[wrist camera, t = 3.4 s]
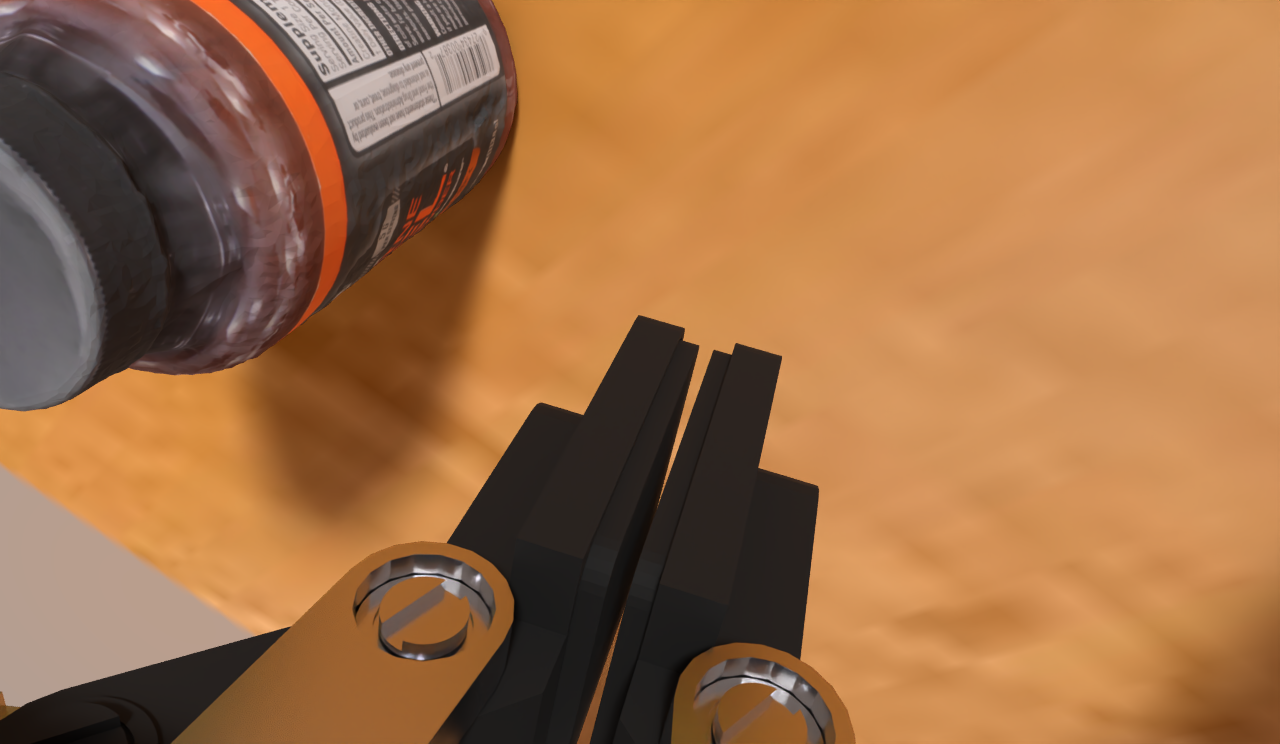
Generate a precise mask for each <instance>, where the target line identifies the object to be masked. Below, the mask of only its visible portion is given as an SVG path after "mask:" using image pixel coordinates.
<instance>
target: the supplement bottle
mask: <svg viewBox="0 0 1280 744" xmlns="http://www.w3.org/2000/svg"><path fill="white" fill-rule="evenodd" d="M516 104H517V79H516V69H515V64H514V59H513V56H512V52H511V48H510V44H509V40H508V36H507V33H506V29H505V27H504V25H503V23H502V21H501V19H500V16H499V14H498V12H497V10H496V8H495V6H494V4H493V2H492V0H0V408H1V409H8V410H17V411H29V410H36V409H47V408H49V407H53V406H56V405H59V404H62V403H64V402H66V401H68V400H71V399H73V398H74V397H76V396H78V395H79V394H81V393H82V392H84V391H86V390H87V389H89V388H91V387H92V386H94V385H95V384H97V383H98V382H100V381H102V380H104V379H106V378H108V377H109V376H111V375H113V374H115V373H119V372H121V371H123V370H125V369H127V368H131V369H134V370H140V371H149V372H153V373H163V374H170V375H181V374H188V375H194V374H202V373H212V372H215V371H220V370H224V369H227V368H232V367H234V366H236V365H238V364H240V363H244V362H245V361H247V360H248V359H253V358H256V357H258V356H259V355H261V354H262V353H263V352H264V351H266V350H267V349H268V348H270V347H271V346H273V345H275V344H276V343H277V342H279V341H280V340H281V339H283V338H284V337H285V336H287V335H288V334H289V333H290V332H292V331H293V330H294V329H295V328H297V327H298V326H300V325H302V324H303V323H304V322H306V320H307V319H308V318H309V317H310V316H312V315H313V314H315V313H316V312H318V311H320V310H321V309H323V308H324V307H326V306H327V305H328V304H329V303H330V302H331V301H333V300H334V299H335V298H336V297H337V296H338V295H339V294H340V293H342V292H343V291H345V290H346V289H347V288H349V287H350V286H351V285H353V284H354V283H355V282H357V281H358V280H359V279H360V278H362V277H363V276H364V275H365V274H366V273H367V272H369V271H370V270H371V269H372V268H373V267H374V266H375V265H377V264H378V263H379V262H380V261H382V260H383V259H384V258H385V257H386V256H388V255H389V254H391V253H392V252H393V251H394V250H395V249H396V248H398V247H399V246H400V245H401V244H402V243H404V242H405V241H407V240H408V239H410V238H411V237H413V236H414V235H415V234H417V233H418V232H420V231H421V230H422V229H423V228H424V227H425V226H426V225H427V224H428V223H430V222H431V221H433V220H434V219H435V218H436V217H437V216H438V215H440V214H441V213H443V212H444V211H446V210H447V209H448V208H450V207H451V206H452V205H454V204H456V203H457V202H458V201H459V200H461V199H462V198H463V197H464V196H465V195H466V194H467V193H468V192H469V191H471V190H472V189H473V187H474V186H475V185H476V184H478V183H479V181H480V180H481V179H482V178H483V176H484V175H485V174H486V173H487V172H488V170H489V169H490V168H491V167H492V165H493V164H494V163H495V161H496V160H497V158H498V156H499V155H500V153H501V151H502V149H503V147H504V145H505V143H506V140H507V137H508V135H509V132H510V129H511V125H512V122H513V118H514V110H515V106H516Z"/></svg>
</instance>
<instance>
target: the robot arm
mask: <svg viewBox="0 0 1280 744" xmlns="http://www.w3.org/2000/svg"><path fill="white" fill-rule="evenodd" d="M684 332H685V328H682V327H679V326H675V325H672V324H668V323H665V322H661V321H658V320H654V319H651V318H647V317H644V316H640V315H638V317H637V318H636V320H635V322H634V324H633V325H632V327H631V329H630V331H629V333H628V335H627V336H626V338H625V340H624V342H623V344H622V346H621V347H620V349H619V351H618V353H617V355H616V357H615V358H614V360H613V362H612V364H611V366H610V368H609V369H608V371H607V373H606V375H605V377H604V379H603V380H602V382H601V384H600V386H599V388H598V390H597V391H596V393H595V395H594V397H593V399H592V401H591V402H590V404H589V406H588V408H587V410H586V412H585V413H584V415H581V414H578V413H575V412H571V411H568V410H565V409H561V408H558V407H555V406H551V405H548V404H545V403H539V404H537V405H536V406H535V407H534V409H533V410H532V411H531V413H530V414H529V416H528V417H527V419H526V420H525V422H524V424H523V425H522V427H521V428H520V430H519V431H518V433H517V434H516V436H515V438H514V439H513V441H512V442H511V444H510V445H509V447H508V448H507V450H506V452H505V453H504V455H503V456H502V458H501V459H500V461H499V462H498V464H497V466H496V467H495V469H494V470H493V472H492V473H491V475H490V476H489V478H488V480H487V481H486V483H485V484H484V486H483V487H482V489H481V490H480V492H479V494H478V495H477V497H476V498H475V500H474V501H473V503H472V505H471V506H470V508H469V509H468V511H467V512H466V514H465V515H464V517H463V519H462V520H461V522H460V523H459V525H458V526H457V528H456V529H455V531H454V533H453V534H452V536H451V537H450V539H449V540H448V542H447V543H437V542H424V541H420V542H413V543H406V544H398V545H394V546H391V547H389V548H386V549H383V550H381V551H378V552H376V553H373V554H371V555H369V556H368V557H367V558H365V559H364V560H362V561H361V562H360V563H358V564H357V565H355V566H354V567H353V568H351V569H350V570H349V571H348V572H347V573H346V574H345V575H344V576H343V577H342V578H341V579H340V580H339V581H338V582H337V583H336V584H335V585H334V586H333V587H332V588H331V589H330V590H329V591H328V592H327V593H326V594H324V595H323V596H322V597H321V598H320V599H319V600H318V601H317V602H316V603H315V604H314V605H313V606H312V607H311V608H310V609H309V610H308V611H307V612H306V613H305V614H304V615H303V616H302V617H301V618H300V619H299V620H298V621H297V622H296V623H295V624H294V625H293V626H291V627H287V628H283V629H280V630H276V631H273V632H269V633H265V634H262V635H258V636H255V637H251V638H248V639H244V640H240V641H237V642H233V643H229V644H226V645H222V646H219V647H215V648H211V649H208V650H205V651H201V652H197V653H193V654H190V655H186V656H183V657H179V658H176V659H172V660H168V661H164V662H161V663H158V664H154V665H150V666H146V667H143V668H139V669H136V670H132V671H128V672H125V673H121V674H118V675H114V676H110V677H107V678H103V679H100V680H96V681H92V682H89V683H85V684H82V685H78V686H75V687H71V688H68V689H64V690H60V691H58V692H55V693H53V694H50V695H48V696H45V697H42V698H40V699H37V700H35V701H32V702H29V703H27V704H25V705H24V706H22V707H14V706H6V705H5V701H4V697H3V694H2V692H0V744H577V741H578V738H579V735H580V733H581V730H582V727H583V724H584V721H585V718H586V716H587V713H588V710H589V707H590V704H591V701H592V699H593V696H594V693H595V690H596V687H597V684H598V682H599V679H600V676H601V673H602V670H603V667H604V665H605V662H606V659H607V656H608V653H609V650H610V648H611V645H612V642H613V639H614V636H615V633H616V631H617V628H618V625H619V622H620V619H621V616H622V614H623V617H622V621H621V625H620V629H619V633H618V636H617V640H616V644H615V648H614V652H613V656H612V660H611V663H610V667H609V671H608V675H607V679H606V683H605V687H604V691H603V694H602V698H601V702H600V706H599V710H598V714H597V718H596V721H595V725H594V729H593V733H592V737H591V741H590V744H856V742H855V734H854V731H853V727H852V724H851V721H850V717H849V714H848V711H847V709H846V707H845V705H844V704H843V702H842V701H841V699H840V698H839V696H838V694H837V693H836V691H835V690H834V688H833V687H832V686H831V685H830V684H829V683H828V682H827V681H826V680H825V679H824V678H823V677H822V676H821V675H820V674H819V673H818V672H817V671H815V670H814V669H813V668H812V667H811V666H809V665H807V664H806V663H804V662H802V661H801V660H800V657H801V648H802V639H803V630H804V621H805V613H806V604H807V595H808V586H809V577H810V569H811V560H812V551H813V542H814V533H815V525H816V516H817V507H818V498H819V488H818V486H816V485H813V484H810V483H806V482H803V481H800V480H797V479H793V478H790V477H787V476H783V475H780V474H777V473H773V472H770V471H767V470H763V469H760V468H758V466H759V462H760V457H761V452H762V448H763V443H764V439H765V434H766V429H767V425H768V420H769V416H770V411H771V406H772V402H773V397H774V392H775V388H776V383H777V379H778V374H779V369H780V365H781V360H782V356H779V355H776V354H772V353H769V352H765V351H762V350H758V349H755V348H751V347H748V346H744V345H741V344H738V343H736V344H735V347H734V350H733V353H732V355H730V354H727V353H723V352H720V351H716V350H714V351H713V353H712V356H711V359H710V362H709V365H708V367H707V370H706V373H705V376H704V379H703V381H702V384H701V387H700V390H699V393H698V395H697V398H696V401H695V404H694V407H693V409H692V412H691V415H690V418H689V421H688V423H687V426H686V429H685V432H684V435H683V437H682V440H681V443H680V446H679V449H678V451H677V454H676V457H675V460H674V463H673V465H672V468H671V471H670V474H669V477H668V480H667V482H666V485H665V488H664V491H663V494H662V496H661V499H660V495H661V491H662V487H663V484H664V480H665V476H666V472H667V468H668V465H669V461H670V457H671V453H672V449H673V446H674V442H675V438H676V434H677V430H678V427H679V423H680V419H681V415H682V411H683V408H684V404H685V400H686V396H687V393H688V389H689V385H690V381H691V377H692V374H693V370H694V366H695V362H696V358H697V354H698V350H699V345H696V344H692V343H689V342H685V341H683V338H684ZM659 499H660V502H659ZM658 503H659V505H658ZM657 506H658V508H657ZM625 605H626V606H625ZM624 608H625V609H624ZM623 611H624V613H623Z"/></svg>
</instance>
